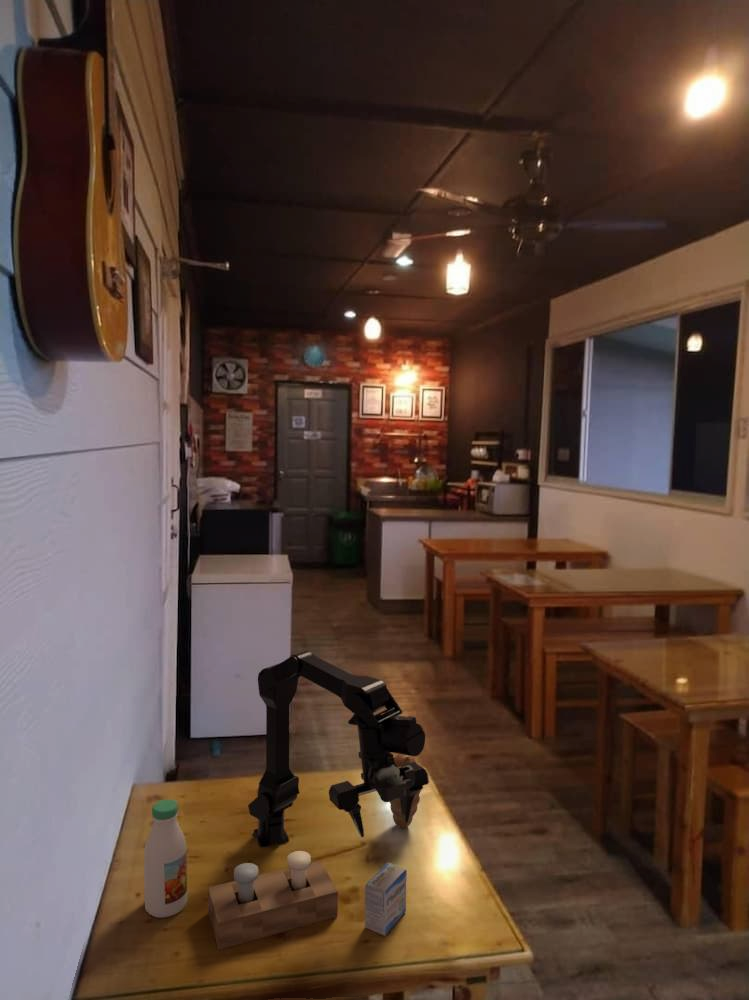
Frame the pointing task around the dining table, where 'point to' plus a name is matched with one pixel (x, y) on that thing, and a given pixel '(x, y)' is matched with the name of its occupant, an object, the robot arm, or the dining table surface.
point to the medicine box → (385, 898)
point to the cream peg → (298, 868)
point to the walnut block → (271, 906)
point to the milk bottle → (165, 862)
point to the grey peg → (246, 881)
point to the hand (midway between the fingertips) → (384, 829)
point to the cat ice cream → (395, 803)
